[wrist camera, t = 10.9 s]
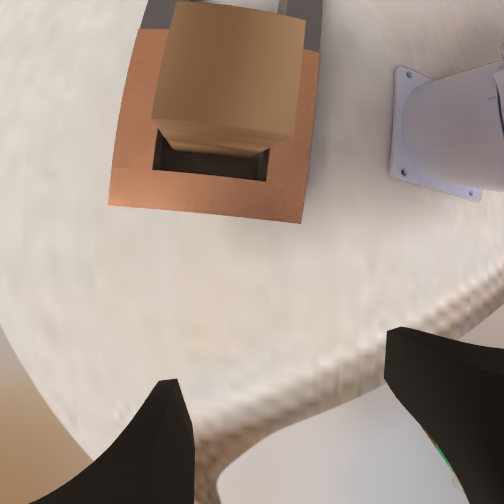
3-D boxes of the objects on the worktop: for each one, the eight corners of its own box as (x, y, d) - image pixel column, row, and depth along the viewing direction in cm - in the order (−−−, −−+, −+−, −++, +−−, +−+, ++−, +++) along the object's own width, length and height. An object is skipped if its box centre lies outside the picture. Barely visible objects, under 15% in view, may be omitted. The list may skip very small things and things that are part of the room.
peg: (255, 92, 16) (305, 20, 8) (246, 159, 17) (293, 135, 9) (185, 83, 16) (176, 0, 7) (174, 151, 16) (150, 117, 8)
